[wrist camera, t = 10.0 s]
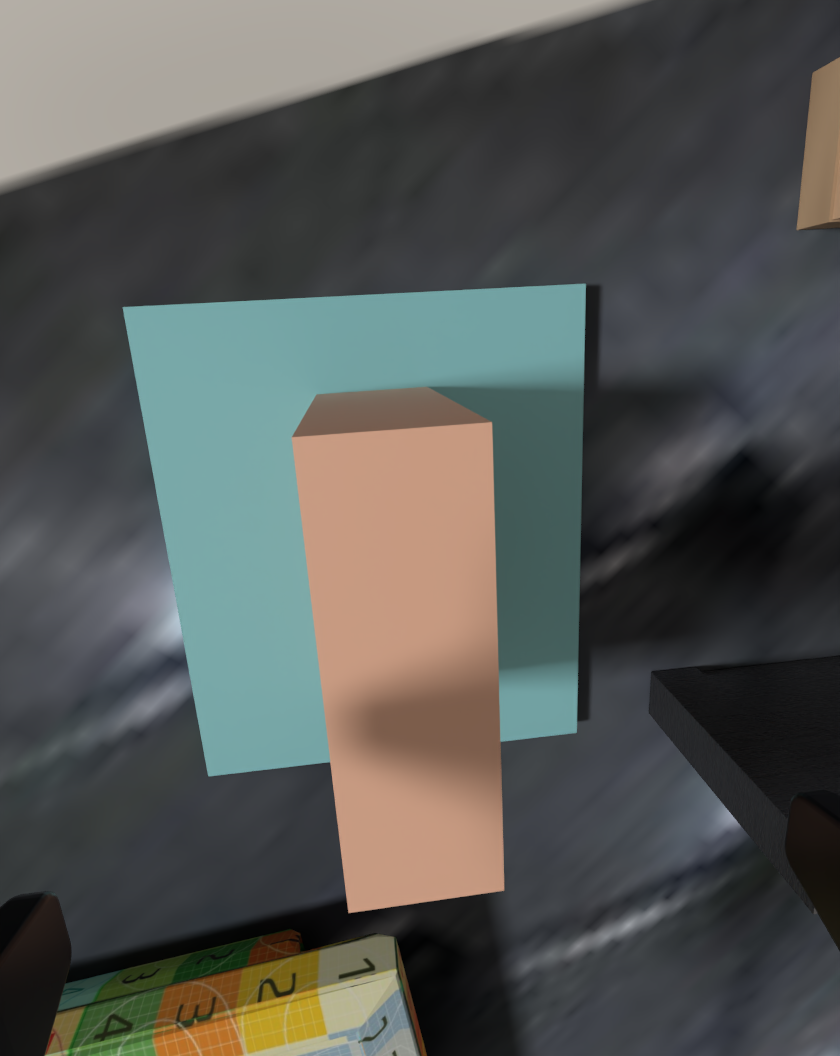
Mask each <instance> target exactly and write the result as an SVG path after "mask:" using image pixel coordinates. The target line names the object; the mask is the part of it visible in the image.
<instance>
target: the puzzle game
mask: <svg viewBox="0 0 840 1056" xmlns="http://www.w3.org/2000/svg"><path fill="white" fill-rule="evenodd" d="M45 1056H427V1054H426V1050H425V1046H424V1042H423V1039H422V1035H421V1031H420V1027H419V1023H418V1020H417V1016H416V1012H415V1008H414V1004H413V1001H412V997H411V993H410V989H409V985H408V981H407V978H406V974H405V970H404V966H403V962H402V959H401V955H400V951H399V947H398V943H397V939H396V937H392V936H387V935H382V934H377V933H373V934H369V935H365V936H362V937H358V938H354V939H350V940H346V941H342V942H339V943H335V944H331V945H327V946H323V947H319V948H316V949H312V950H308V951H306V950H305V946H304V943H303V940H302V937H301V934H300V933H298V932H296V931H294V930H292V929H288V930H283V931H279V932H275V933H271V934H267V935H263V936H259V937H255V938H251V939H247V940H242V941H238V942H234V943H230V944H226V945H222V946H218V947H214V948H210V949H205V950H201V951H197V952H193V953H189V954H185V955H181V956H177V957H173V958H169V959H164V960H160V961H156V962H152V963H148V964H144V965H140V966H136V967H132V968H128V969H123V970H119V971H115V972H111V973H107V974H103V975H99V976H95V977H91V978H87V979H82V980H78V981H74V982H70V983H66V984H65V986H64V990H63V993H62V997H61V1000H60V1004H59V1008H58V1011H57V1015H56V1018H55V1022H54V1025H53V1029H52V1033H51V1036H50V1040H49V1043H48V1047H47V1050H46V1054H45Z"/></svg>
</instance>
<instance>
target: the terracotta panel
mask: <svg viewBox="0 0 840 1056" xmlns="http://www.w3.org/2000/svg"><path fill="white" fill-rule="evenodd" d="M292 445H293V453H294V461H295V470H296V478H297V486H298V495H299V503H300V512H301V520H302V528H303V537H304V545H305V553H306V562H307V570H308V579H309V587H310V595H311V604H312V612H313V620H314V629H315V637H316V646H317V654H318V662H319V671H320V679H321V687H322V696H323V704H324V712H325V721H326V729H327V738H328V746H329V754H330V763H331V771H332V779H333V788H334V796H335V805H336V813H337V821H338V830H339V838H340V846H341V855H342V863H343V871H344V880H345V888H346V897H347V905H348V913H353V912H360V911H367V910H374V909H381V908H388V907H395V906H402V905H408V904H415V903H422V902H429V901H436V900H443V899H450V898H457V897H464V896H471V895H478V894H484V893H491V892H498V891H504V859H503V821H502V782H501V743H500V705H499V666H498V628H497V589H496V550H495V512H494V473H493V434H492V422H491V421H489V420H487V419H485V418H484V417H482V416H480V415H478V414H476V413H474V412H473V411H471V410H469V409H467V408H465V407H463V406H462V405H460V404H458V403H456V402H454V401H452V400H450V399H449V398H447V397H445V396H443V395H441V394H439V393H438V392H436V391H434V390H432V389H430V388H428V387H416V388H402V389H387V390H373V391H359V392H344V393H330V394H316V396H315V398H314V400H313V401H312V403H311V405H310V406H309V408H308V410H307V412H306V413H305V415H304V417H303V419H302V420H301V422H300V424H299V425H298V427H297V429H296V431H295V432H294V434H293V436H292Z"/></svg>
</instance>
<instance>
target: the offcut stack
mask: <svg viewBox="0 0 840 1056" xmlns="http://www.w3.org/2000/svg"><path fill="white" fill-rule="evenodd" d="M824 228H840V58H838V59H836V60H834V61H833V62H831V63H829V64H827V65H826V66H824V67H822V68H820V69H819V70H817V71H815V72H813V74H812V84H811V94H810V104H809V114H808V124H807V133H806V143H805V153H804V163H803V173H802V183H801V193H800V202H799V212H798V222H797V230H806V229H824Z"/></svg>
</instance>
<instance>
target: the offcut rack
mask: <svg viewBox="0 0 840 1056" xmlns="http://www.w3.org/2000/svg"><path fill="white" fill-rule="evenodd" d="M649 714H650V715H651V716H652V717H653V719H654V720H655V721H656V722H657V724H658V725H659V726H660V727H661V728H662V730H663V731H664V732H665V733H666V735H667V736H668V737H669V738H670V739H671V741H672V742H673V743H674V744H675V746H676V747H677V748H678V749H679V750H680V752H681V753H682V754H683V755H684V757H685V758H686V759H687V760H688V761H689V763H690V764H691V765H692V766H693V768H694V769H695V770H696V771H697V772H698V774H699V775H700V776H701V777H702V779H703V780H704V781H705V782H706V783H707V785H708V786H709V787H710V788H711V790H712V791H713V792H714V793H715V794H716V796H717V797H718V798H719V799H720V801H721V802H722V803H723V804H724V806H725V807H726V808H727V809H728V810H729V812H730V813H731V814H732V815H733V817H734V818H735V819H736V820H737V821H738V823H739V824H740V825H741V826H742V828H743V829H744V830H745V831H746V832H747V834H748V835H749V836H750V837H751V839H752V840H753V841H754V842H755V843H756V845H757V846H758V847H759V848H760V850H761V851H762V852H763V853H764V854H765V856H766V857H767V858H768V859H769V861H770V862H771V863H772V864H773V865H774V867H775V868H776V869H777V870H778V872H779V873H780V874H781V875H782V876H783V878H784V879H785V880H786V881H787V883H788V884H789V885H790V886H791V887H792V889H793V890H794V891H795V892H796V894H797V895H798V896H799V897H800V898H801V900H802V901H803V902H804V903H805V905H806V906H807V907H808V908H809V910H810V911H811V912H812V913H813V914H818V913H817V911H816V909H815V908H814V906H813V904H812V903H811V901H810V899H809V897H808V896H807V894H806V892H805V891H804V889H803V887H802V885H801V884H800V882H799V880H798V879H797V877H796V875H795V873H794V872H793V870H792V868H791V866H790V864H789V862H788V860H787V857H786V853H785V845H784V844H785V835H786V828H787V821H788V814H789V807H790V802H791V799H792V798H793V796H794V795H795V794H797V793H800V792H807V791H815V790H828V791H831V792H834V793H836V794H838V795H840V656H837V657H828V658H819V659H810V660H801V661H792V662H783V663H774V664H765V665H756V666H747V667H739V668H730V669H721V670H712V671H703V672H701V671H700V670H699V669H698V668H697V667H692V668H683V669H674V670H665V671H656V672H651V687H650V704H649Z"/></svg>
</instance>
